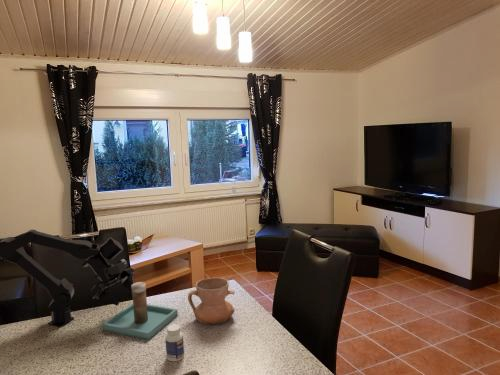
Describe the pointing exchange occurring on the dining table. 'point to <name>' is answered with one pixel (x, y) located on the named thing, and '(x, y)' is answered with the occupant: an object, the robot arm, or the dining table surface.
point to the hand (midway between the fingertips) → (126, 299)
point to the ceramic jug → (212, 301)
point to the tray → (147, 330)
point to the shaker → (139, 302)
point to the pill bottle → (174, 343)
